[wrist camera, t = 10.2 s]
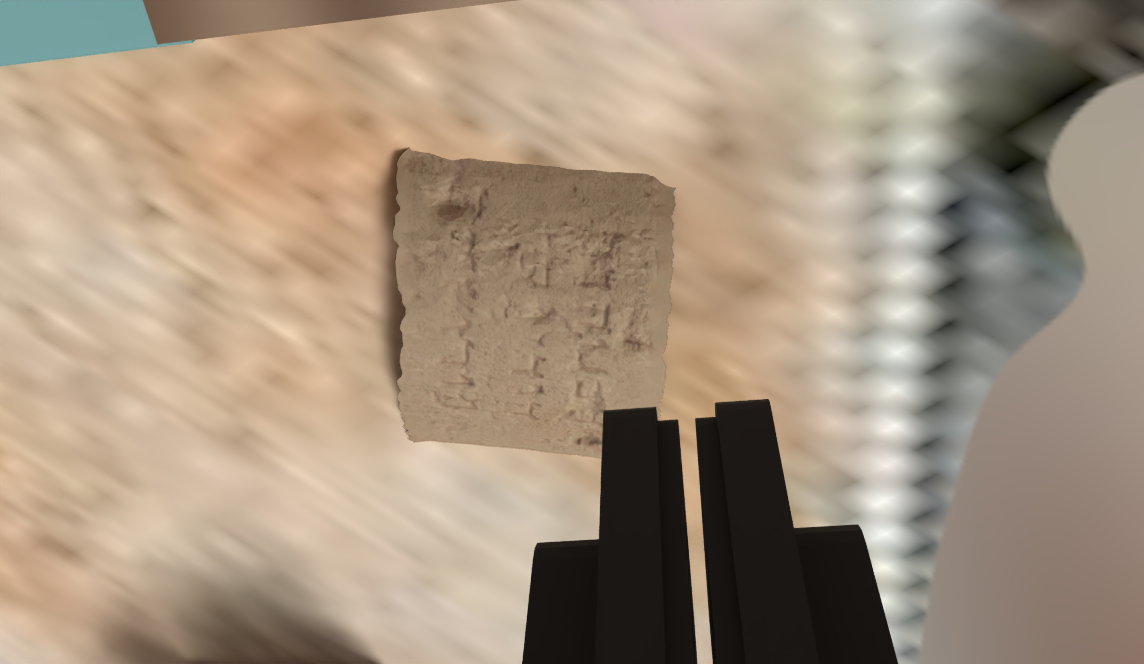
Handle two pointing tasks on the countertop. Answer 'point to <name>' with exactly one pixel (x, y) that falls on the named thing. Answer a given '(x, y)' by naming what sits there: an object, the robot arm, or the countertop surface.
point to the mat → (72, 29)
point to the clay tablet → (529, 300)
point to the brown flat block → (272, 14)
